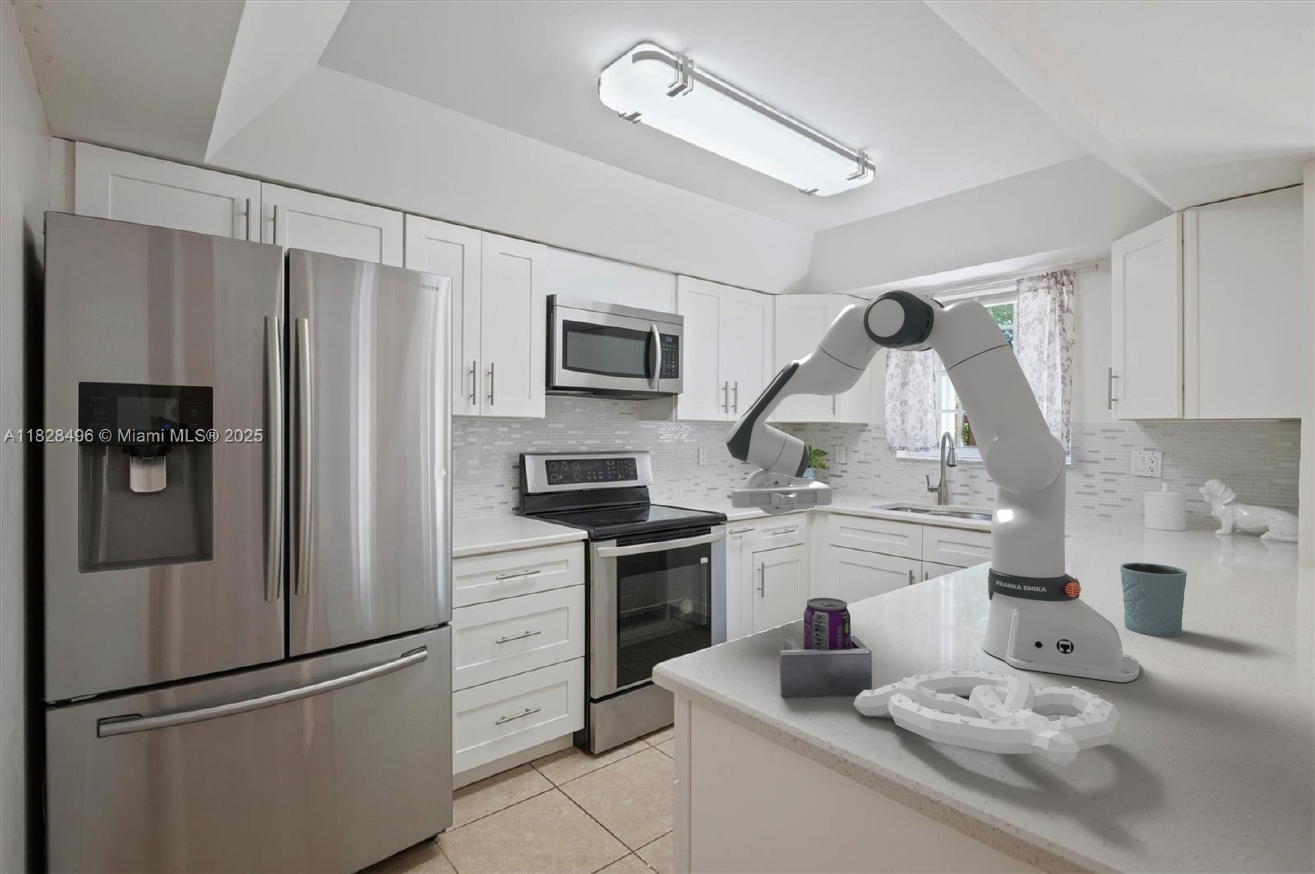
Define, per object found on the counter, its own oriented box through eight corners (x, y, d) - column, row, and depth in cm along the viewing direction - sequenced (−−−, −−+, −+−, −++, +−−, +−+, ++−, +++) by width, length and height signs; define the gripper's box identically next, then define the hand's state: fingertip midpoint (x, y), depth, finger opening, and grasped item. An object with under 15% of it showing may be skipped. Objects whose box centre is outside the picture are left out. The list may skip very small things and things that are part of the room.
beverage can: (860, 684, 97) (859, 606, 97) (818, 690, 95) (817, 610, 95) (835, 668, 104) (835, 595, 104) (796, 673, 102) (795, 598, 102)
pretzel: (838, 731, 85) (834, 681, 86) (942, 696, 98) (937, 653, 99) (1063, 802, 62) (1054, 733, 63) (1159, 743, 75) (1151, 687, 76)
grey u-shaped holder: (769, 674, 101) (769, 633, 101) (854, 672, 102) (854, 631, 102) (782, 697, 93) (781, 652, 93) (875, 695, 93) (874, 650, 93)
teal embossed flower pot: (1163, 623, 126) (1162, 562, 126) (1201, 639, 116) (1201, 573, 116) (1108, 622, 127) (1108, 562, 127) (1142, 638, 117) (1141, 573, 117)
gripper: (724, 480, 135) (734, 485, 121) (819, 477, 136) (840, 482, 122) (725, 509, 135) (735, 518, 121) (820, 506, 136) (841, 515, 122)
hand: (789, 500), depth 121 cm, fingers closed
